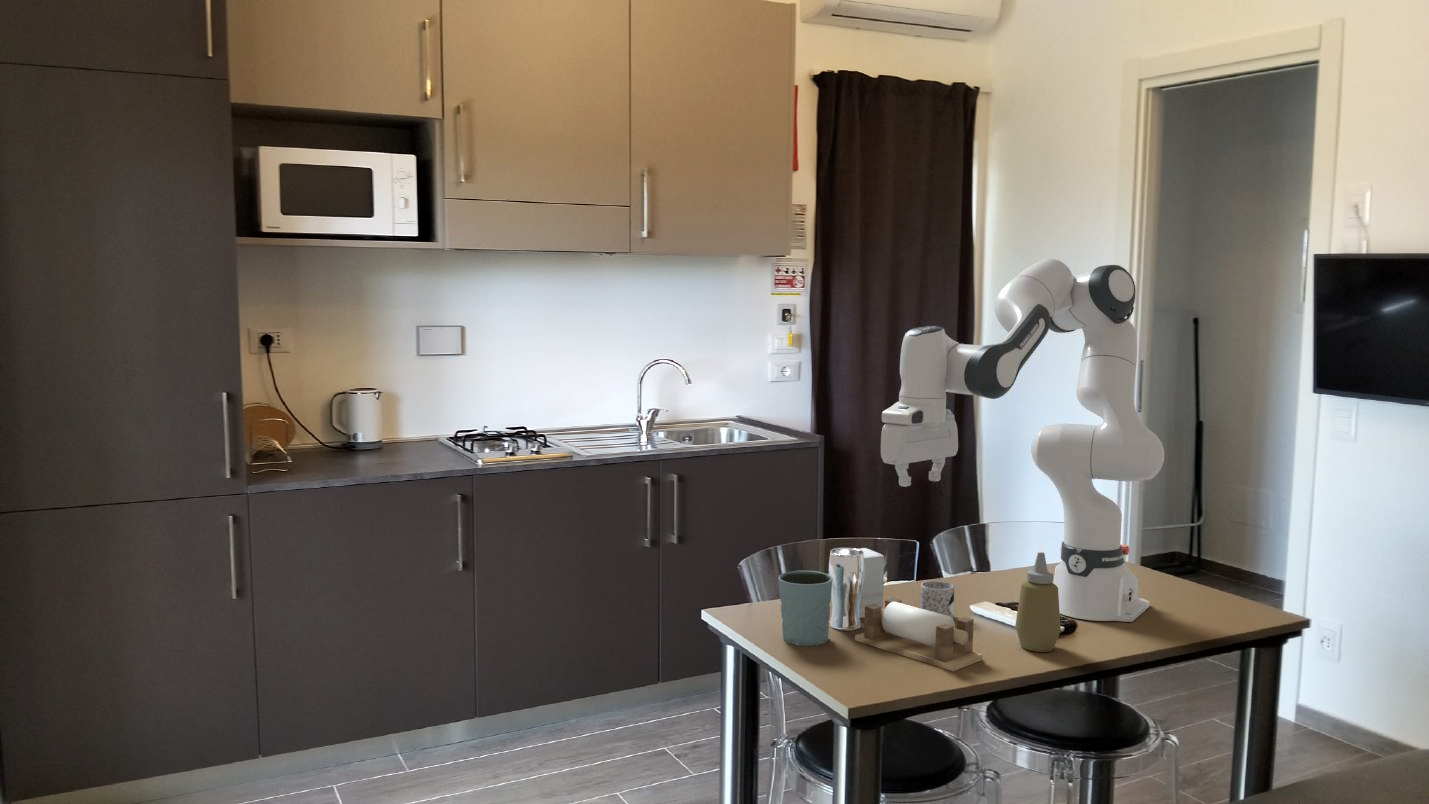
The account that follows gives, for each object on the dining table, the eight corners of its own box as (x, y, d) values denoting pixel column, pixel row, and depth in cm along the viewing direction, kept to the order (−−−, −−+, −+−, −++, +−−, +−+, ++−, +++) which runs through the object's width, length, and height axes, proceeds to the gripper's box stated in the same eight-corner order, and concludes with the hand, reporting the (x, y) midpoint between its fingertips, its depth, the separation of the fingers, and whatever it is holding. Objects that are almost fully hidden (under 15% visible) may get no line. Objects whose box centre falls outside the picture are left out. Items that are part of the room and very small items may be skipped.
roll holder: (854, 640, 199) (855, 604, 198) (884, 630, 205) (885, 595, 205) (953, 671, 183) (954, 631, 182) (982, 659, 189) (983, 621, 188)
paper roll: (864, 630, 199) (865, 599, 199) (884, 624, 203) (885, 594, 203) (953, 658, 185) (955, 624, 184) (973, 651, 189) (974, 618, 188)
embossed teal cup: (842, 641, 199) (843, 579, 197) (800, 651, 193) (802, 586, 192) (807, 627, 207) (808, 567, 206) (766, 636, 201) (767, 574, 200)
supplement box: (864, 606, 222) (866, 547, 221) (883, 615, 215) (885, 555, 214) (834, 609, 219) (835, 550, 218) (852, 619, 212) (854, 558, 211)
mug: (956, 622, 211) (957, 589, 211) (923, 621, 211) (924, 589, 211) (945, 607, 221) (946, 576, 221) (913, 607, 221) (914, 576, 221)
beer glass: (842, 633, 203) (844, 557, 202) (820, 623, 209) (822, 549, 208) (870, 627, 207) (872, 553, 205) (847, 618, 213) (849, 545, 211)
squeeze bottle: (1025, 637, 202) (1028, 545, 200) (1066, 647, 197) (1070, 552, 195) (1007, 648, 196) (1011, 553, 194) (1049, 658, 190) (1054, 560, 189)
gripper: (940, 407, 211) (938, 475, 212) (875, 413, 197) (873, 486, 198) (967, 409, 206) (964, 479, 207) (903, 416, 192) (900, 491, 193)
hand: (919, 483), depth 202 cm, fingers open, 8 cm apart
